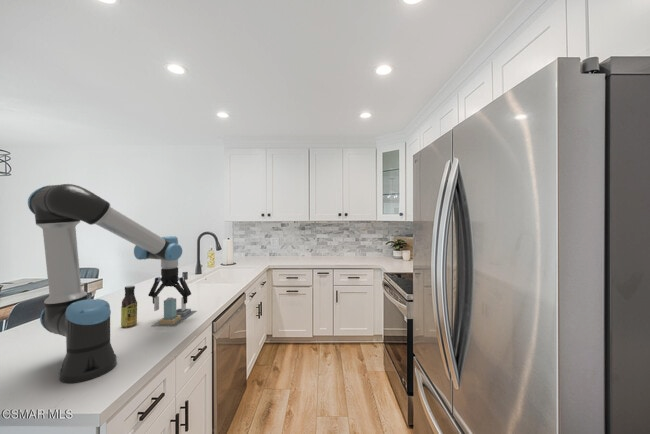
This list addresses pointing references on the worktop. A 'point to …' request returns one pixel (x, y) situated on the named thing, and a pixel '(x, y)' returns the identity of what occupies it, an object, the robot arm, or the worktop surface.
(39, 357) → the worktop surface
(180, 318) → the socket board
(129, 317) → the sauce bottle
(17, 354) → the worktop surface
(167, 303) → the plug
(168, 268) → the robot arm
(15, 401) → the worktop surface
